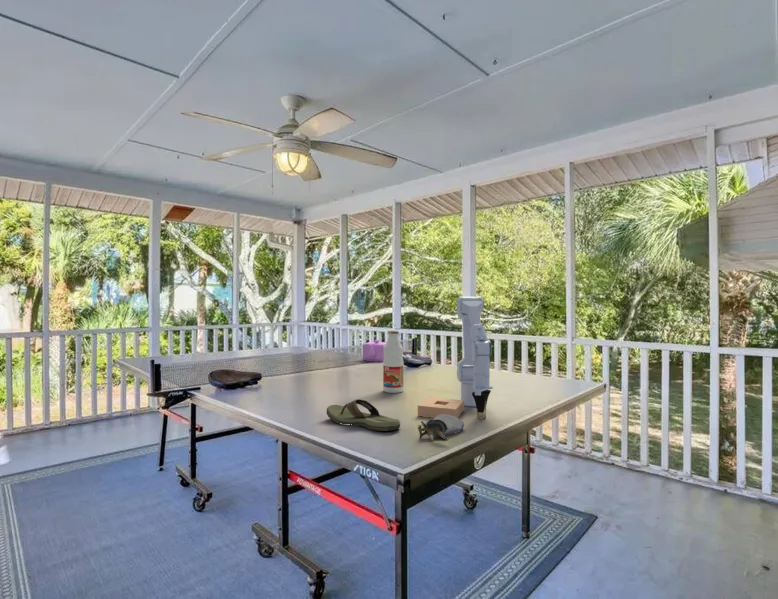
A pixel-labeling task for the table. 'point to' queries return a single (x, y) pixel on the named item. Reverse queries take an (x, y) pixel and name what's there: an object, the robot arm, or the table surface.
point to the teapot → (374, 351)
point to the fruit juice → (393, 364)
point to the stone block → (450, 423)
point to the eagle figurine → (433, 428)
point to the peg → (482, 415)
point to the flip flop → (362, 416)
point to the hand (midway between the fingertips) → (481, 411)
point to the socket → (440, 407)
